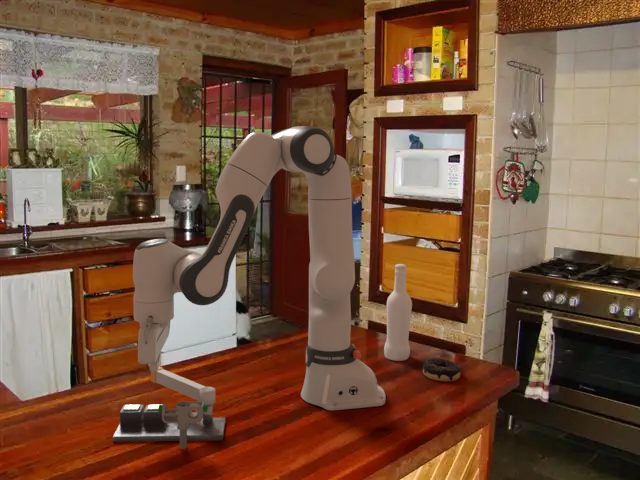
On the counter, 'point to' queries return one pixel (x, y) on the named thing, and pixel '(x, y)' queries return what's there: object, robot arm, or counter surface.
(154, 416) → the block
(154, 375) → the lever
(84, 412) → the counter surface
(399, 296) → the bottle
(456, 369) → the donut
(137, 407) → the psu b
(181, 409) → the mechanical component
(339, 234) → the robot arm
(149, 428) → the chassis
